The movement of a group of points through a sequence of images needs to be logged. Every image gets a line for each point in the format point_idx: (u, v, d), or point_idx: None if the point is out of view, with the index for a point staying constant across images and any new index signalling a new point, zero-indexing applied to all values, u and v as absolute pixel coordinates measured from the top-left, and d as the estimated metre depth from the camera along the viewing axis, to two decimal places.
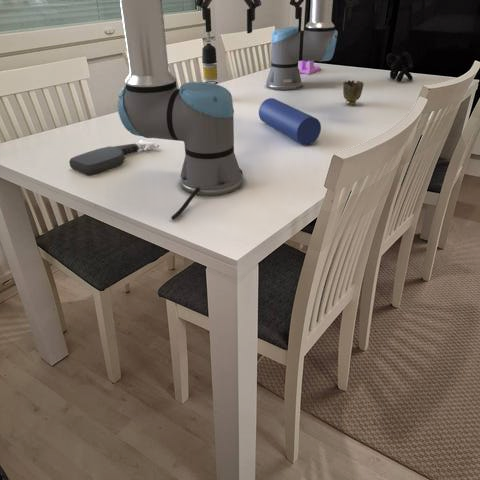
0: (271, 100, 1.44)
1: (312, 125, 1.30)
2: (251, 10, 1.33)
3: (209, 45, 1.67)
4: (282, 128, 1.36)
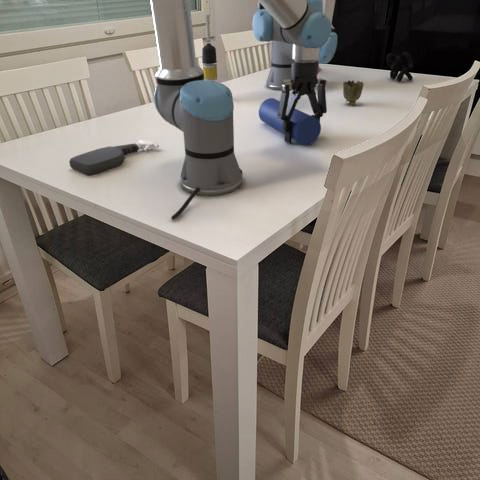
0: (271, 100, 1.44)
1: (312, 125, 1.30)
2: None
3: (209, 45, 1.67)
4: (282, 128, 1.36)
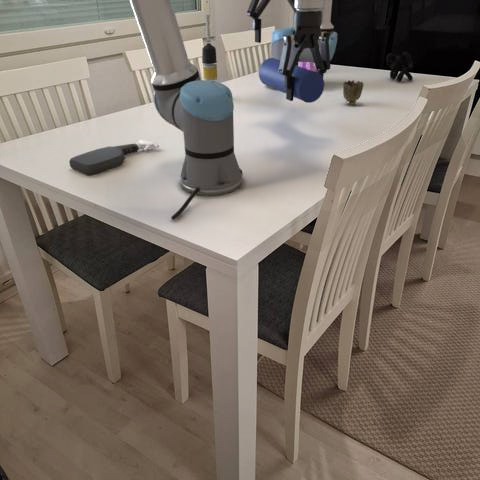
0: (272, 59, 1.38)
1: (315, 80, 1.23)
2: (320, 73, 1.27)
3: (209, 45, 1.67)
4: (283, 86, 1.29)
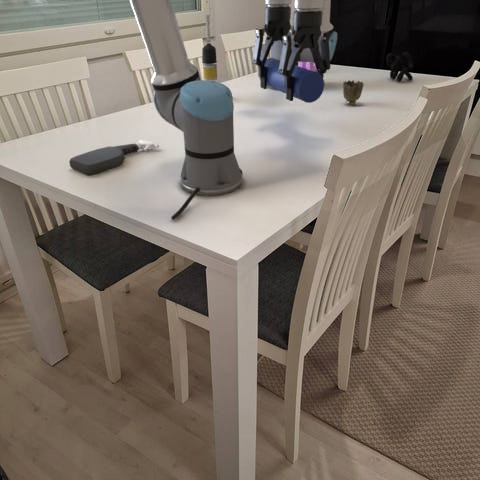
0: (272, 59, 1.38)
1: (315, 80, 1.23)
2: (320, 73, 1.27)
3: (209, 45, 1.67)
4: (283, 86, 1.29)
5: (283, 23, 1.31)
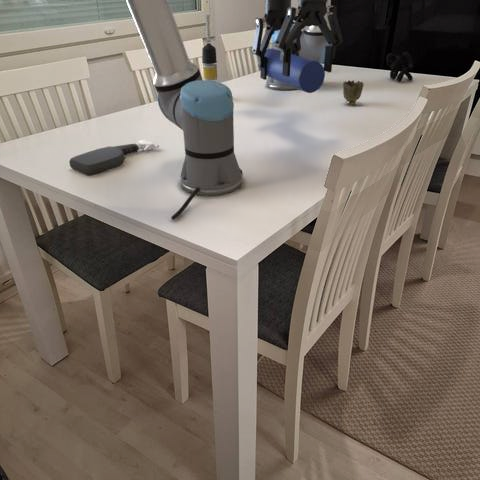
0: (272, 50, 1.36)
1: (316, 70, 1.22)
2: None
3: (209, 45, 1.67)
4: (283, 76, 1.28)
5: (283, 12, 1.30)
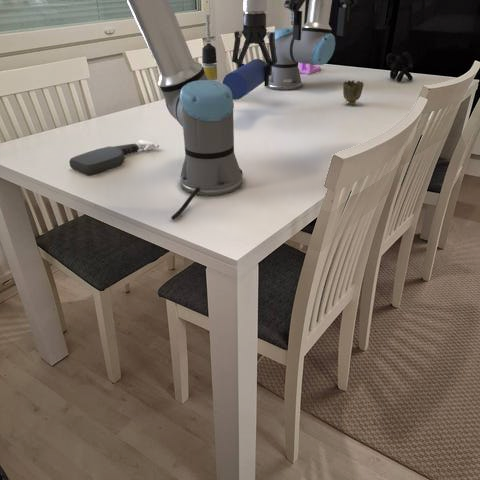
0: (253, 60, 1.54)
1: (237, 80, 1.38)
2: None
3: (209, 45, 1.67)
4: None
5: (257, 28, 1.46)
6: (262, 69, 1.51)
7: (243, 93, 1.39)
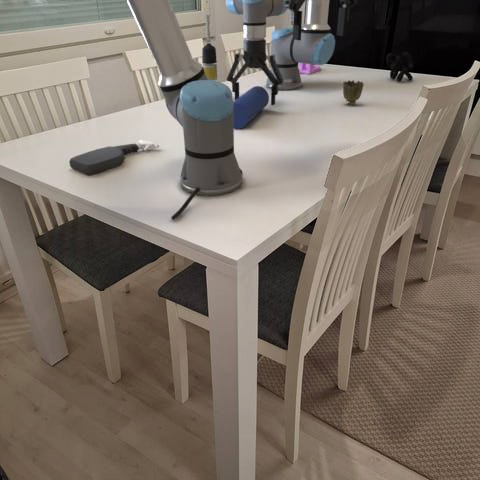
0: (254, 87, 1.59)
1: (238, 111, 1.43)
2: None
3: (209, 45, 1.67)
4: None
5: (256, 55, 1.51)
6: (262, 97, 1.56)
7: (244, 123, 1.44)
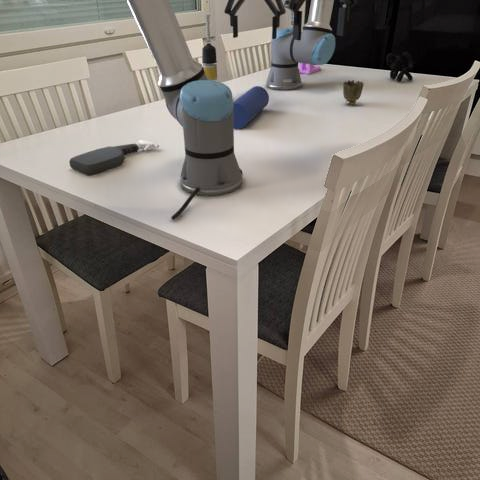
0: (254, 87, 1.59)
1: (238, 111, 1.43)
2: None
3: (209, 45, 1.67)
4: None
5: None
6: (262, 97, 1.56)
7: (244, 123, 1.44)
